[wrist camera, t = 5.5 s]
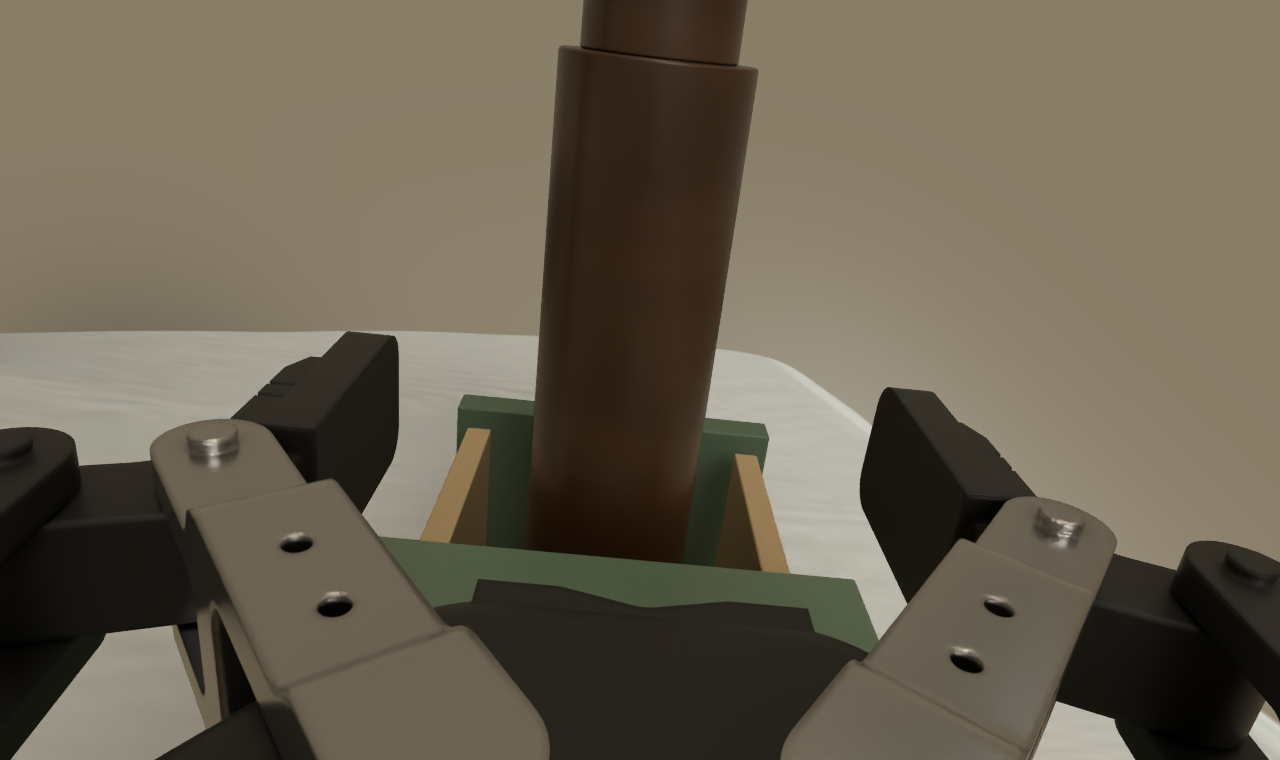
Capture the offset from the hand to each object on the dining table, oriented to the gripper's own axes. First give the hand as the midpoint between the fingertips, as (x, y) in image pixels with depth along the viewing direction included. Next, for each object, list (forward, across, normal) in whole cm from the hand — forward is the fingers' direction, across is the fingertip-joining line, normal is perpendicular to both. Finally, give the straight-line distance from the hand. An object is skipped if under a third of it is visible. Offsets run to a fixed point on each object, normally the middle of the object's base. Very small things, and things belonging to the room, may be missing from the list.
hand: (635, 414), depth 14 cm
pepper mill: (+9, 0, +13) cm, 16 cm away
